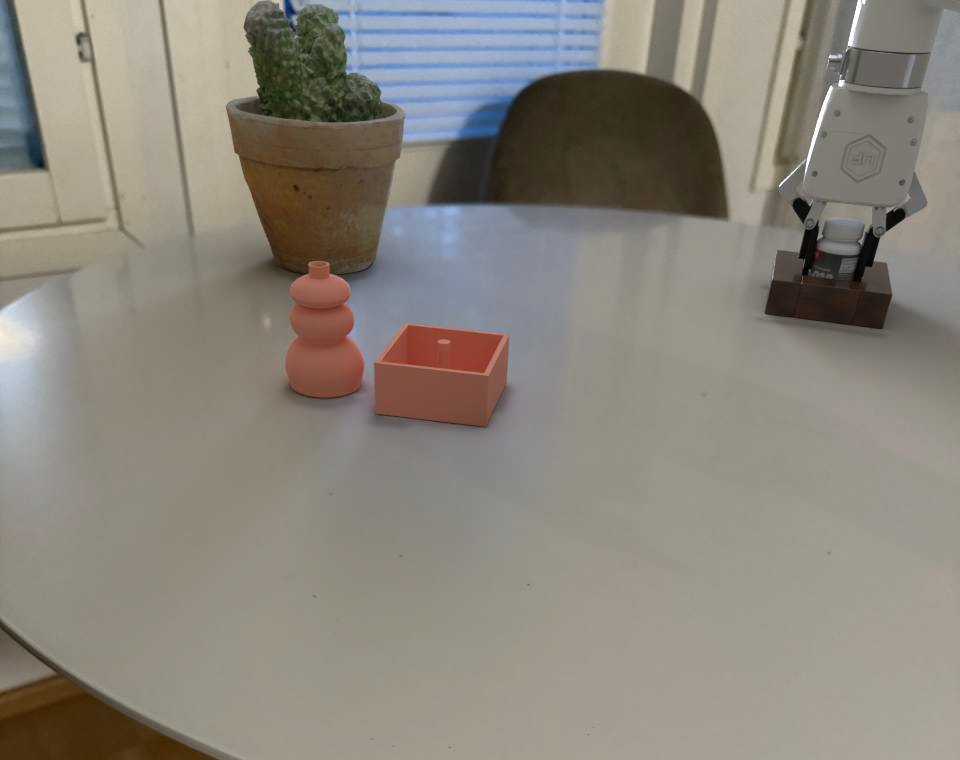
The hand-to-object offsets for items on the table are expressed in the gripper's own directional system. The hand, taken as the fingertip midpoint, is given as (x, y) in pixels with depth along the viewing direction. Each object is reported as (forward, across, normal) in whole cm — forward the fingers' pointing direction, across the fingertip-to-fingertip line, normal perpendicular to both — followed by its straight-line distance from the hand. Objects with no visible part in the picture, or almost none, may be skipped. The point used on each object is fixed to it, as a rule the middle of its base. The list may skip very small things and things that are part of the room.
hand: (833, 268), depth 101 cm
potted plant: (+4, -55, -8) cm, 56 cm away
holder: (+4, 0, 0) cm, 4 cm away
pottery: (+4, -35, -40) cm, 53 cm away
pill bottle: (+4, 0, 0) cm, 4 cm away
